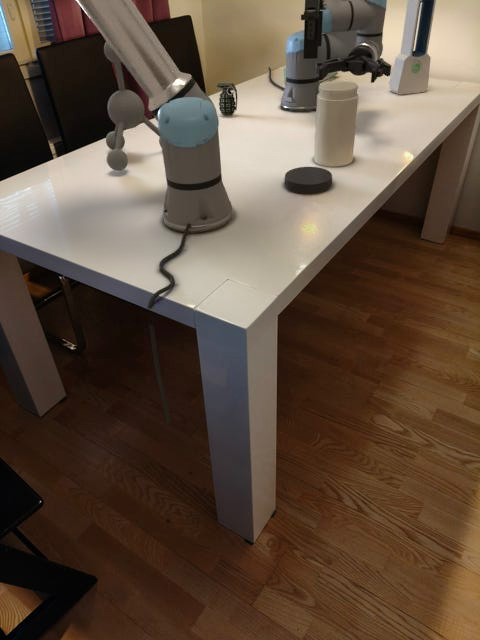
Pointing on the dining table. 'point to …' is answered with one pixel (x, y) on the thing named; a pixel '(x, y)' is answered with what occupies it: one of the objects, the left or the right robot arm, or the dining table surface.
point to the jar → (335, 123)
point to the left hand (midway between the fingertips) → (312, 52)
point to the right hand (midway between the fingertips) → (346, 75)
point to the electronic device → (415, 64)
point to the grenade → (227, 99)
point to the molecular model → (123, 115)
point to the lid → (308, 180)
